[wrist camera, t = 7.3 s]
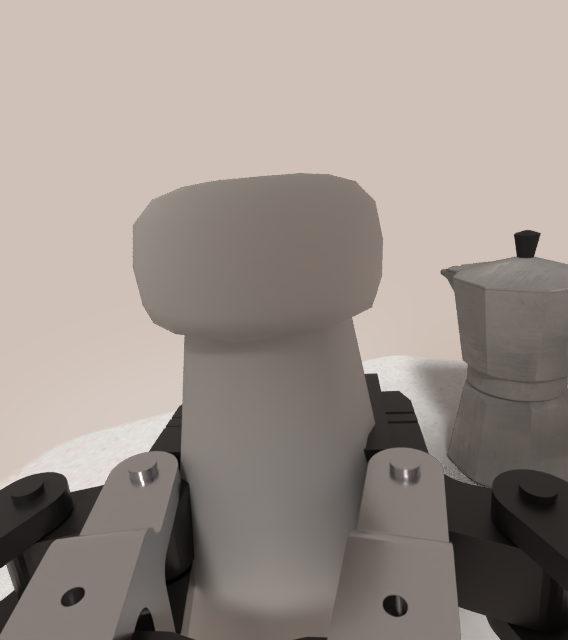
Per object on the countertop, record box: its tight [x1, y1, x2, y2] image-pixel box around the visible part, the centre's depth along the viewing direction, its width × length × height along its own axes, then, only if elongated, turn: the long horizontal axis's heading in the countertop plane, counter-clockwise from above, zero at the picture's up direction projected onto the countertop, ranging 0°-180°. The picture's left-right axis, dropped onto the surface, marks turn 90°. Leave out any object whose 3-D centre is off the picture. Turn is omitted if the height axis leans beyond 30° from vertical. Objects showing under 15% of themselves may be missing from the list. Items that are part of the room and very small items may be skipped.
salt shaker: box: [133, 173, 383, 640], centre depth 10 cm, size 6×6×13 cm
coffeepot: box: [441, 230, 568, 489], centre depth 32 cm, size 15×9×18 cm, turn 35°
